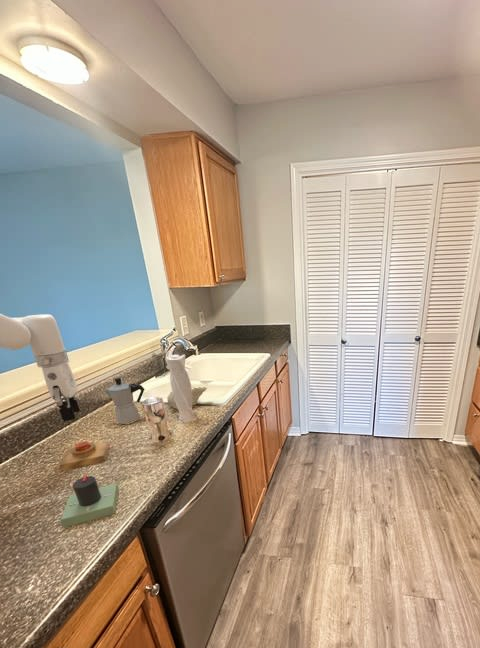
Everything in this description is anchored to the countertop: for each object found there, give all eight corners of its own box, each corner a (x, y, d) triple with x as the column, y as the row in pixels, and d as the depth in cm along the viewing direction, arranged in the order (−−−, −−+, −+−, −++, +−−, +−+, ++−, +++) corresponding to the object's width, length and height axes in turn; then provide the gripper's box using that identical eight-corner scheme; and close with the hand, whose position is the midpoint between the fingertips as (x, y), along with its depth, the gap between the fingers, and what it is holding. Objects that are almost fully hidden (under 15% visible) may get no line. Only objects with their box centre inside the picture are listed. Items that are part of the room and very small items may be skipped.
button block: (61, 471, 99) (57, 460, 98) (68, 455, 108) (64, 445, 106) (105, 461, 103) (102, 450, 102) (109, 446, 112) (106, 436, 110)
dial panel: (63, 528, 76) (59, 519, 75) (72, 502, 85) (69, 494, 84) (115, 513, 80) (112, 505, 79) (119, 490, 89) (116, 482, 88)
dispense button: (75, 452, 102) (74, 447, 101) (78, 447, 105) (76, 442, 104) (88, 450, 103) (87, 445, 102) (90, 444, 106) (89, 440, 106)
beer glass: (169, 443, 112) (160, 403, 107) (148, 445, 111) (138, 405, 106) (173, 433, 119) (165, 395, 113) (153, 435, 118) (144, 398, 112)
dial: (99, 503, 80) (92, 483, 78) (77, 508, 79) (69, 489, 77) (102, 491, 85) (96, 473, 82) (81, 496, 83) (74, 478, 81)
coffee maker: (108, 427, 126) (95, 383, 120) (115, 417, 134) (103, 376, 128) (149, 421, 129) (138, 379, 123) (153, 413, 137) (143, 372, 130)
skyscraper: (174, 419, 130) (159, 351, 119) (192, 413, 135) (179, 347, 124) (182, 425, 125) (168, 354, 114) (200, 419, 129) (188, 350, 118)
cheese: (163, 416, 138) (178, 400, 129) (159, 401, 140) (174, 384, 131) (195, 415, 150) (211, 399, 141) (191, 401, 152) (206, 385, 143)
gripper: (60, 364, 87) (80, 424, 94) (73, 351, 101) (90, 404, 108) (26, 368, 84) (49, 430, 91) (45, 354, 99) (64, 408, 106)
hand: (71, 415), depth 100 cm, fingers open, 5 cm apart
